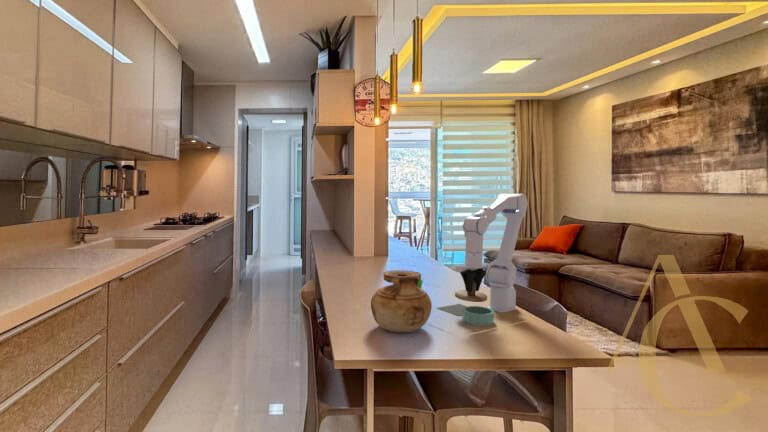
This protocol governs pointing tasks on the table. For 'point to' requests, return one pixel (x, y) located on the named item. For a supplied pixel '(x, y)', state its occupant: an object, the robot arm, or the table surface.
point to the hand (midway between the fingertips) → (472, 291)
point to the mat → (453, 309)
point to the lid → (471, 295)
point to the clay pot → (401, 303)
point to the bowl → (478, 315)
